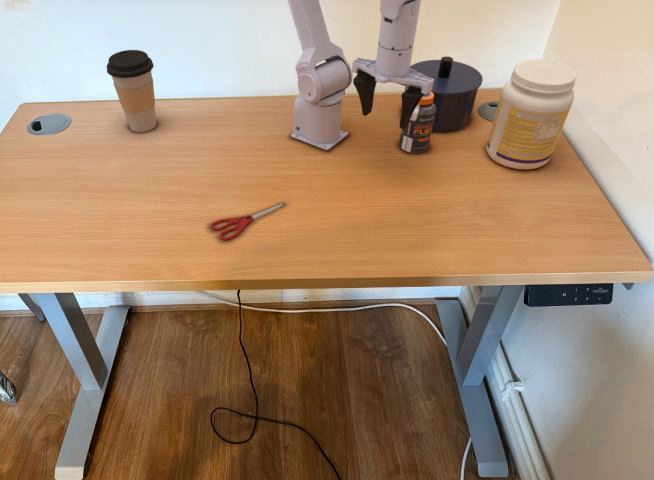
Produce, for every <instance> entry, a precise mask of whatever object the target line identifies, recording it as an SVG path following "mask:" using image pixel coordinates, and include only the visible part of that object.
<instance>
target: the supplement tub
mask: <svg viewBox="0 0 654 480" xmlns="http://www.w3.org/2000/svg"><path fill="white" fill-rule="evenodd" d="M510 75H511V76H510V78H509V79H508V80H507V81H506V82H505V83H504V84H503V87H502V89H501V93H500V97H499V99H498V104H497V107H496V110H495V114H494V117H493V120H492V124H491V126H490V127H491V128H490V131H489V134H488V137H487V141H486V146H485V147H486V148H485V149H486V152H487V155H488V156H489V157H490V158H491V159H492V160H493V161H494V162H496V163H497V164H500V165H502V166H504V167H507V168H511V169H515V170H516V169H517V170H533V169H538V168H540V167H542V166H545V165H546V164H547V163H548V162H549V161H550V160H551V158H552V156H553V153H554V150H555V148H556V146H557V143H558V140H559V138H560V135H561V133H562V131H563V128H564V125H565V123H566V121H567V118H568V115H569V113H570V110H571V108H572V106H573V103H574V99H575V92H574V89H573V88H574V87H575V84H576V79H577V77H578V75H577V72H576V71H575V69H573V68H572V67H570V66H569V65H567V64H565V63H563V62H558V61H555V60H551V59H542V58H536V59H526V60H523V61H521V62H518V63H517V64H516V65H515V66H514V68H513V70H512V73H511V74H510Z"/></svg>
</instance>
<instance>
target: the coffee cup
mask: <svg viewBox="0 0 654 480" xmlns="http://www.w3.org/2000/svg"><path fill="white" fill-rule="evenodd" d="M153 68H154V63H153V60H152V58H150V57H149V55H148V53H146V52H145V51H143V50H139V49H126V50H120V51H118V52H114V53H113V54H112V55H110V56H109V58H108V62H107V64H106V73H107V74H108V75H109V76H111V78H112V81H113V87H114V89H115V92H116V95H117V98H118V100H119V104H120V106H121V109H122V110H123V112H124V115H125V118H126V121H127V123H128V126H129V129H130V131H132V132H136V133H145V132H149V131H152V130H153V129H154V128H156V126H157V116H156V98H155V88H154V78H153V73H152V70H153Z"/></svg>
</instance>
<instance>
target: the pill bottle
mask: <svg viewBox="0 0 654 480" xmlns="http://www.w3.org/2000/svg"><path fill="white" fill-rule="evenodd" d="M433 99H434V94H433V93H432V92H431V91H430V92H429V93H428V94H424V96H423V97H422V99H421V100H420V101H419V103H418V105H417V106H416V108H415V110H414V112H413V114H412V116H411V118H410V121H409V124H408V125H407V126H406V127H405V128H404V129H402V128H400V129H401V130H400V135H399V141H398V146H399V147H400V148H401V149H402V150H403V151H405V152H407V153H411V154H420V153H423V152H426V151H427V150H428V148H429V145H430V142H431V136H432V133H433V132H432V128H433V123H434V119H435V114H436V106H435V104H434V103H433Z"/></svg>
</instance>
